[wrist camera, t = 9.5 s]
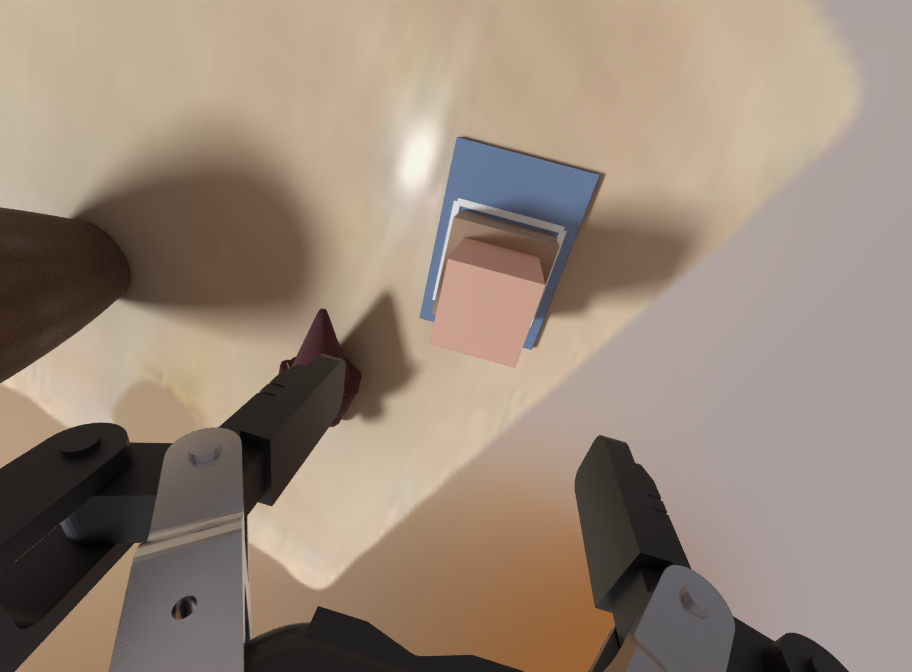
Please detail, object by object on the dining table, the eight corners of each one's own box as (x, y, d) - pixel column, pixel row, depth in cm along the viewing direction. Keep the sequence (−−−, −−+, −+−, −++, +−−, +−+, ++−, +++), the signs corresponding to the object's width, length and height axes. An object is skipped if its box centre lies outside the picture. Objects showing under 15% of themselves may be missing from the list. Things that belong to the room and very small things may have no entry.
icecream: (247, 307, 26) (261, 441, 34) (328, 349, 24) (322, 480, 32) (317, 280, 31) (315, 400, 39) (387, 312, 29) (369, 432, 37)
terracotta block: (464, 237, 23) (448, 258, 18) (538, 257, 23) (545, 284, 17) (448, 306, 25) (429, 343, 20) (515, 325, 25) (515, 368, 20)
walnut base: (462, 210, 26) (453, 217, 22) (554, 235, 26) (559, 246, 22) (442, 296, 29) (431, 314, 26) (523, 319, 29) (524, 340, 25)
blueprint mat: (457, 137, 24) (456, 136, 24) (598, 174, 24) (599, 174, 24) (420, 316, 31) (419, 318, 30) (531, 347, 30) (531, 350, 30)
